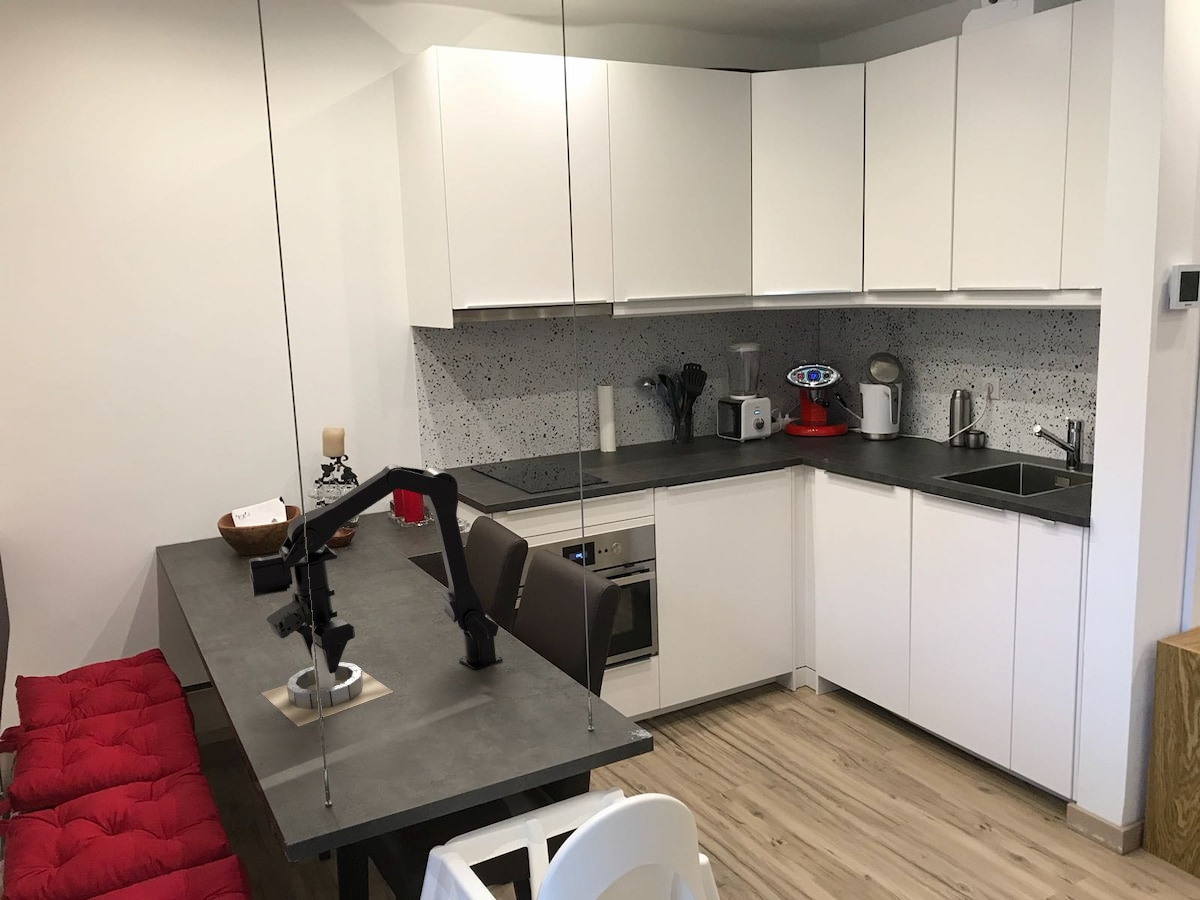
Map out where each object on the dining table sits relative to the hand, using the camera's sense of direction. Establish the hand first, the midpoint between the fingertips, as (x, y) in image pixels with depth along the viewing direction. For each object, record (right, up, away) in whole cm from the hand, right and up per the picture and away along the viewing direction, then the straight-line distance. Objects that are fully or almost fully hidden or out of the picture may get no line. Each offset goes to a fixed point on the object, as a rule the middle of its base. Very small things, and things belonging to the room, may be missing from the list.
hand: (323, 666), depth 173 cm
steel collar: (0, -5, +1) cm, 5 cm away
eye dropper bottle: (0, -4, +1) cm, 4 cm away
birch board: (0, -6, +1) cm, 6 cm away
